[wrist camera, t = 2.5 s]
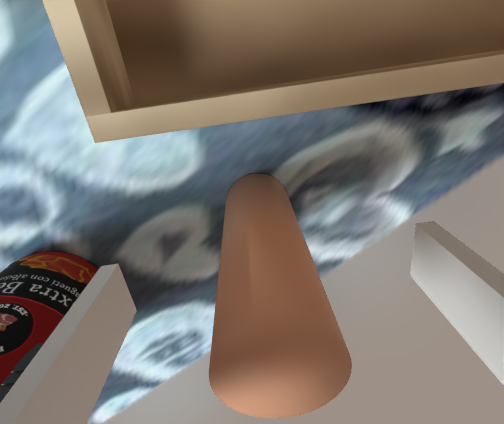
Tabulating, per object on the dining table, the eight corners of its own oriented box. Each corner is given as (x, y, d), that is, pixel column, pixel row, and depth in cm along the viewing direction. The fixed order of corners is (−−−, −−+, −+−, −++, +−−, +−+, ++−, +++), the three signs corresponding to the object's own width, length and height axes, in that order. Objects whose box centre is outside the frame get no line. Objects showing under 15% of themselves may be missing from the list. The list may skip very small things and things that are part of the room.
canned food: (125, 263, 21) (20, 439, 11) (109, 340, 24) (16, 532, 14) (6, 233, 19) (-239, 404, 9) (6, 320, 23) (-178, 516, 13)
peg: (221, 177, 18) (194, 333, 7) (285, 168, 18) (352, 313, 7) (231, 233, 20) (222, 425, 9) (290, 225, 20) (350, 409, 9)
